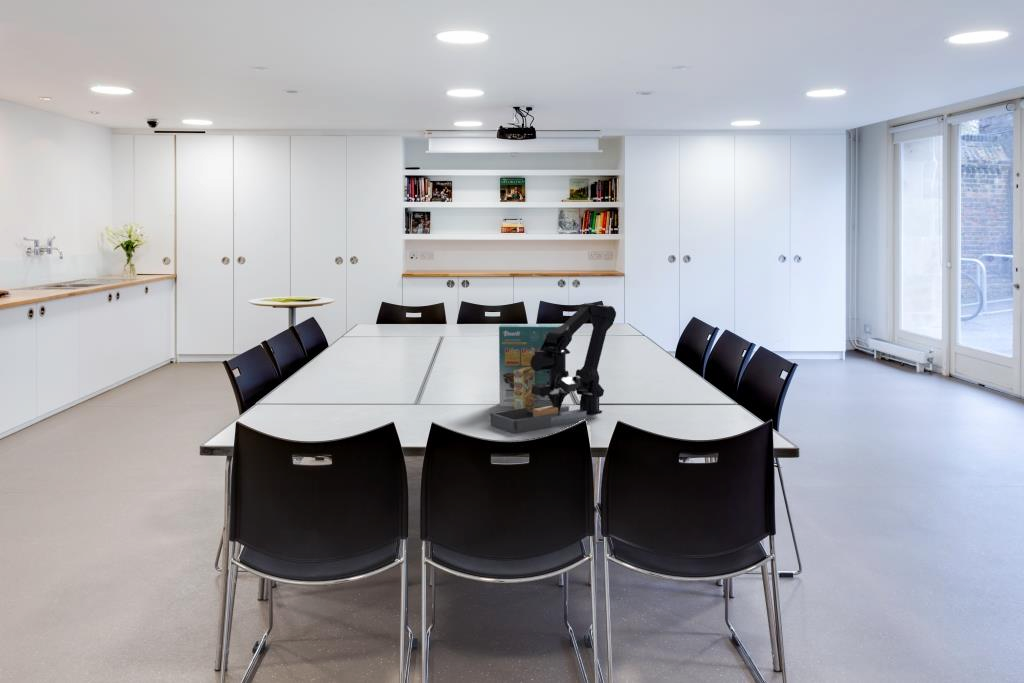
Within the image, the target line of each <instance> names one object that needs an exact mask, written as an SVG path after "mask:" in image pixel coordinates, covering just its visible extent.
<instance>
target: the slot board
mask: <svg viewBox="0 0 1024 683" xmlns="http://www.w3.org/2000/svg"><path fill="white" fill-rule="evenodd" d="M550 415H551V427H550V428H553V427H559V426H563V425H569V424H574V423H579V422H578V421H581V420H584V419H585V420H586V421H588V416H587V414H586V411H585V410H581V409H580V408H579V409H574V410H570V406H569V405H566V404H562V405H561V408H560V411H559V412H558V413H555V414H550ZM528 417H533V409H529V410H528ZM581 422H582V421H581Z"/></svg>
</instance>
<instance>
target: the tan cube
mask: <svg viewBox="0 0 1024 683" xmlns="http://www.w3.org/2000/svg"><path fill="white" fill-rule="evenodd" d="M532 410H533V417H537V416H543V415H548V414H549V409H546V408H542V407H535V408H532Z"/></svg>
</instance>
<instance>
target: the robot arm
mask: <svg viewBox="0 0 1024 683" xmlns="http://www.w3.org/2000/svg"><path fill="white" fill-rule="evenodd" d="M616 316H617V311H616V310H615V308H614V307H613V306H611V305H603V304H594V303H589V302H588V303H582V304H581V305H580V307H579V309H577V310H576V311H575V313H573V314H572V315H571V316H570V317H569V318H568V319H567V320H566V321H565V322H563V324H562V325H559V327H557V328H554V329H553V330H551V331H550V332H548V334H547V335H546V339H545V341H544V343H543V345H542V347H541V349H540V351H535V355H533V356H532V358H531V360H530V364H531V367H532V369H533V370H534V371H542V370H547V373H549V382H547V385H549V386H545V385H534V386H533V387H532V389H531V390H532V394H535V395H539V396H546V395H548V397H549V399H550V400H551V402H552V405H553V407H557V408H558V412H559V411H560V408H561V405H563V402H564V400H565V399H566V398H565V397H566V396H567V395H570V394H571V392H576V394H577V395H580V400H579V409H581V410H585V411H586V415H594V414H598V413H599V414H600V413H602V412H603V410H601V409H600V398H601V397H603V396H604V393H605V389H604V388H603V387H602V385H601V384H599V383H600V375H599V371H598V369H599V368H598V367H599V364H600V359H601V355H602V352H603V347H604V343H605V341H606V340H605V339H606V336H607V332H608V330H610V328H611V327H612V326H613V324H614V322H615V319H616ZM590 318H591V319H590ZM589 319H590V321H591V324H592V331H591V335H590V340H589V343H588V348H587V351H586V356H585V360H584V363H583V366H582V367H581V368H580V369H578V368H577V369H576V371H575V375H574V376H570V375H569V374H570V372H569V371H568V370H566V357H567V355H569V354H571V351H570V350H569V349H567V347H568V346H569V344H571V342H572V340H573V335H574V334H575V333H576V332H577V331H578V330H579V329H580V328H581V327H582V326H583V325H585V323H586V322H587V321H588V320H589ZM550 347H552V348H550ZM548 369H549V370H548Z"/></svg>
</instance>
